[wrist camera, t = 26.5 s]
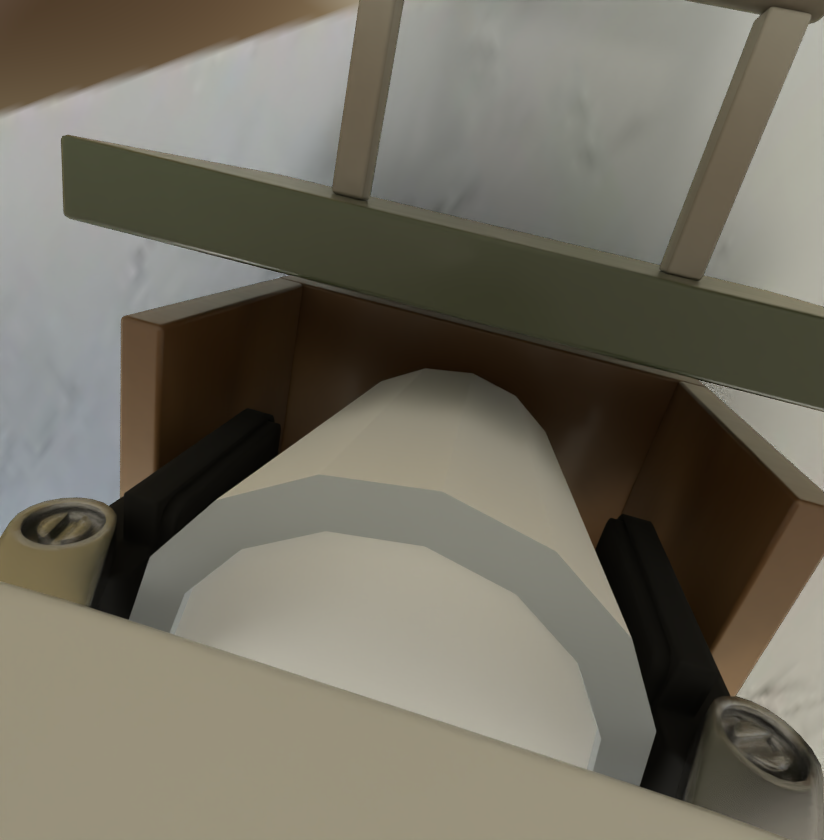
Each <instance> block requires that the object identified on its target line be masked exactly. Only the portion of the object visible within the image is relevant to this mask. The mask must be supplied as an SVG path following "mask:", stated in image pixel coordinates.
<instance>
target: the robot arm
mask: <svg viewBox="0 0 824 840" xmlns="http://www.w3.org/2000/svg"><path fill="white" fill-rule="evenodd" d="M280 434H281V425H280V424H278V423H275V420H274V417H273V415H271V414H267V413H263V412H260V411H256V410H253V409H249V408H247V409H245V410H243V411H242V412H240V413H239V414H237V415H236V416H235V417H233V418H232V419H230V420H229V421H227V422H226V423H224V424H223V425H222V426H220V427H219V428H217V429H216V430H214V431H213V432H212V433H210V434H209V435H207V436H206V437H204V438H203V439H201V440H200V441H199V442H197V443H196V444H194V445H193V446H191V447H190V448H189V449H187V450H186V451H184V452H183V453H181V454H180V455H178V456H177V457H176V458H174V459H173V460H171V461H170V462H168V463H167V464H165V465H164V466H163V467H161V468H160V469H158V470H157V471H155V472H154V473H153V474H151V475H150V476H148V477H147V478H145V479H144V480H142V481H141V482H140V483H138V484H137V485H135V486H134V487H132V488H131V489H130V490H128V491H127V492H125V493H124V496H123V497H121V498H120V499H118V500H117V501H115V502H114V503H113V504H111V505H110V506H108V505H106V504H105V503H103V502H100V501H96V500H93V499H87V498H77V497H76V498H60V499H54V500H49V501H44V502H42V503H39V504H36V505H33V506H30V507H29V508H27V509H25V510H23V511H22V512H20V513H18V514H17V515H16V516H15V517H14V518H13V519H12V521H11V522H10V523H9V525H8V526H7V528H6V529H5V531H4V532H3V534H2V536H1V537H0V840H824V777H823V773H822V769H821V765H820V763H819V761H818V759H817V758H816V756H815V754H814V752H813V750H812V749H811V748H810V747H809V745H808V744H807V743H806V742H805V741H804V739H803V738H802V737H801V736H800V735H799V734H798V733H797V732H796V731H795V730H794V729H793V728H792V727H791V726H789V725H788V724H787V723H786V722H785V721H784V720H782V719H781V718H779V717H778V716H777V715H775V714H774V713H772V712H771V711H769V710H768V709H766V708H764V707H762V706H760V705H758V704H756V703H754V702H752V701H749V700H746V699H743V698H740V697H736V696H730V694H729V691H728V689H727V687H726V685H725V683H724V680H723V678H722V676H721V674H720V671H719V669H718V667H717V665H716V663H715V660H714V658H713V656H712V654H711V652H710V649H709V647H708V645H707V643H706V640H705V638H704V636H703V634H702V632H701V629H700V627H699V625H698V623H697V620H696V618H695V616H694V614H693V612H692V609H691V607H690V605H689V603H688V601H687V599H686V597H685V595H684V592H683V590H682V588H681V586H680V584H679V581H678V579H677V577H676V575H675V572H674V570H673V568H672V566H671V564H670V561H669V559H668V557H667V555H666V552H665V550H664V548H663V546H662V544H661V541H660V539H659V537H658V535H657V532H656V530H655V528H654V526H653V524H652V522H650V521H647V520H643V519H640V518H636V517H633V516H629V515H626V514H621V515H620V516H619V517H618V518H617V519H614V518H610V519H609V520H608V521H607V523H606V525H605V527H604V529H603V532H602V534H601V537H600V539H599V541H598V544H597V546H596V548H595V552H596V554H597V556H598V559H599V561H600V564H601V566H602V568H603V571H604V573H605V575H606V578H607V580H608V583H609V585H610V587H611V590H612V592H613V595H614V597H615V599H616V602H617V604H618V607H619V609H620V611H621V614H622V616H623V619H624V621H625V623H626V626H627V628H628V630H629V633H630V635H631V638H632V641H633V645H634V648H635V652H636V656H637V660H638V664H639V667H640V671H641V675H642V679H643V683H644V686H645V690H646V694H647V698H648V702H649V706H650V709H651V713H652V717H653V721H654V725H655V728H656V734H655V738H654V741H653V744H652V747H651V751H650V754H649V757H648V760H647V764H646V767H645V770H644V773H643V777H642V780H641V783H640V786H636V785H633V784H630V783H627V782H624V781H621V780H618V779H615V778H612V777H609V776H606V775H603V774H600V773H597V772H594V771H591V770H588V769H585V768H582V767H579V766H576V765H573V764H570V763H567V762H564V761H561V760H558V759H555V758H552V757H549V756H546V755H543V754H540V753H537V752H534V751H531V750H528V749H525V748H522V747H519V746H516V745H512V744H509V743H506V742H503V741H500V740H497V739H494V738H491V737H488V736H485V735H482V734H479V733H476V732H473V731H470V730H466V729H463V728H460V727H457V726H454V725H451V724H448V723H445V722H442V721H439V720H436V719H433V718H430V717H427V716H424V715H421V714H417V713H414V712H411V711H408V710H405V709H402V708H399V707H396V706H393V705H390V704H387V703H384V702H381V701H378V700H375V699H372V698H368V697H365V696H362V695H359V694H356V693H353V692H350V691H347V690H344V689H341V688H338V687H335V686H332V685H328V684H325V683H322V682H319V681H316V680H313V679H310V678H307V677H304V676H301V675H298V674H295V673H292V672H289V671H285V670H282V669H279V668H276V667H273V666H270V665H267V664H264V663H261V662H258V661H255V660H252V659H249V658H245V657H242V656H239V655H236V654H233V653H230V652H227V651H224V650H221V649H218V648H215V647H212V646H208V645H205V644H202V643H199V642H196V641H193V640H190V639H187V638H183V637H180V636H177V635H174V634H171V633H168V632H165V631H162V630H158V629H155V628H152V627H149V626H146V625H143V624H140V623H137V622H133V621H130V620H129V618H130V615H131V612H132V609H133V606H134V603H135V600H136V597H137V594H138V591H139V588H140V585H141V582H142V579H143V576H144V573H145V570H146V567H147V564H148V561H149V558H150V556H152V555H153V554H154V553H155V552H156V551H157V550H158V549H160V548H161V547H162V546H163V545H164V544H165V543H167V542H168V541H169V540H170V539H171V538H172V537H174V536H175V535H176V534H177V533H178V532H179V531H181V530H182V529H183V528H184V527H185V526H186V525H187V524H189V523H190V522H191V521H192V520H193V519H194V518H196V517H197V516H198V515H199V514H200V513H201V512H203V511H204V510H205V509H206V508H207V507H208V506H209V505H211V504H212V503H213V502H214V501H215V500H217V499H218V498H219V497H221V496H222V495H224V494H225V493H226V492H228V491H229V490H231V489H232V488H233V487H235V486H236V485H237V484H239V483H240V482H242V481H243V480H244V479H246V478H247V477H249V476H250V475H251V474H253V473H254V472H256V471H257V470H258V469H260V468H261V467H263V466H264V465H265V464H267V463H268V462H269V461H271V460H272V459H274V458H275V457H276V456H278V449H279V442H280Z"/></svg>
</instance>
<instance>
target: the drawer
mask: <svg viewBox="0 0 824 840" xmlns="http://www.w3.org/2000/svg"><path fill="white" fill-rule="evenodd" d="M686 1H691V2H697V3H702V4H707V5H712V6H717V7H723V8H728V9H733V10H738V11H744V12H749V13H754V14H759V15H760V16H759V17H758V18H757V19H756V20H755V21H754V23H753V26H752V28H751V31H750V33H749V36H748V39H747V41H746V44H745V46H744V49H743V52H742V54H741V57H740V59H739V62H738V65H737V67H736V70H735V72H734V75H733V78H732V80H731V83H730V85H729V88H728V91H727V93H726V96H725V98H724V101H723V104H722V106H721V109H720V111H719V114H718V117H717V119H716V122H715V124H714V127H713V130H712V132H711V135H710V137H709V140H708V142H707V145H706V148H705V150H704V153H703V155H702V158H701V161H700V163H699V166H698V168H697V171H696V174H695V176H694V179H693V181H692V184H691V187H690V189H689V192H688V194H687V197H686V200H685V202H684V205H683V207H682V210H681V213H680V215H679V218H678V220H677V223H676V226H675V228H674V231H673V233H672V236H671V239H670V241H669V244H668V246H667V249H666V252H665V254H664V257H663V259H662V262H661V265H658V264H654V263H649V262H645V261H641V260H637V259H633V258H628V257H624V256H620V255H616V254H612V253H607V252H603V251H599V250H595V249H591V248H586V247H582V246H578V245H574V244H570V243H565V242H561V241H557V240H553V239H549V238H544V237H540V236H536V235H532V234H528V233H523V232H519V231H515V230H511V229H507V228H502V227H498V226H494V225H490V224H486V223H481V222H477V221H473V220H469V219H465V218H460V217H456V216H452V215H448V214H444V213H439V212H435V211H431V210H427V209H423V208H418V207H414V206H410V205H406V204H402V203H397V202H393V201H389V200H385V199H381V198H376V197H372V196H370V195H371V189H372V184H373V178H374V172H375V166H376V160H377V155H378V149H379V143H380V137H381V131H382V126H383V120H384V114H385V108H386V102H387V97H388V91H389V85H390V79H391V73H392V68H393V62H394V56H395V50H396V44H397V39H398V33H399V27H400V21H401V15H402V10H403V4H404V0H359V7H358V14H357V21H356V28H355V34H354V41H353V48H352V55H351V62H350V69H349V75H348V82H347V89H346V96H345V103H344V110H343V117H342V123H341V130H340V137H339V144H338V151H337V158H336V165H335V171H334V178H333V185H332V187H330V186H326V185H322V184H318V183H313V182H309V181H305V180H301V179H297V178H292V177H288V176H284V175H280V174H274V173H269V172H264V171H258V170H253V169H248V168H242V167H237V166H232V165H226V164H221V163H215V162H210V161H205V160H199V159H194V158H189V157H183V156H178V155H173V154H167V153H162V152H157V151H151V150H146V149H141V148H135V147H130V146H125V145H119V144H114V143H109V142H103V141H98V140H93V139H87V138H82V137H77V136H71V135H65V136H62V138H61V152H62V181H63V211H64V215H65V216H66V217H68V218H70V219H73V220H77V221H81V222H85V223H89V224H92V225H96V226H100V227H104V228H108V229H112V230H116V231H120V232H124V233H128V234H131V235H135V236H139V237H143V238H147V239H151V240H155V241H159V242H163V243H167V244H171V245H174V246H178V247H182V248H186V249H190V250H194V251H198V252H202V253H206V254H210V255H213V256H217V257H221V258H225V259H229V260H233V261H237V262H241V263H245V264H249V265H252V266H256V267H260V268H264V269H268V270H272V271H276V272H280V273H284V274H288V275H289V276H285V277H280V278H277V279H273V280H269V281H265V282H261V283H257V284H252V285H248V286H244V287H240V288H236V289H232V290H228V291H224V292H220V293H216V294H212V295H208V296H203V297H199V298H195V299H191V300H187V301H183V302H179V303H175V304H171V305H167V306H163V307H158V308H154V309H150V310H146V311H142V312H138V313H134V314H130V315H126V316H123V317H122V319H121V405H120V498H121V497H123V496H124V493H125V492H127V491H128V490H130V489H131V488H132V487H134V486H135V485H137V484H138V483H140V482H141V481H142V480H144V479H145V478H147V477H148V476H150V475H151V474H153V473H154V472H155V471H157V470H158V469H160V468H161V467H163V466H164V465H165V464H167V463H168V462H170V461H171V460H173V459H174V458H176V457H177V456H178V455H180V454H181V453H183V452H184V451H186V450H187V449H189V448H190V447H191V446H193V445H194V444H196V443H197V442H199V441H200V440H201V439H203V438H204V437H206V436H207V435H209V434H210V433H212V432H213V431H214V430H216V429H217V428H219V427H220V426H222V425H223V424H224V423H226V422H227V421H229V420H230V419H232V418H233V417H235V416H236V415H237V414H239V413H240V412H242V411H243V410H245V409H247V408H249V409H253V410H256V411H260V412H263V413H267V414H271V415H273V417H274V420H275V423H278V424H280V425H281V434H280V442H279V449H278V455H279V454H281V453H282V452H283V451H285V450H286V449H288V448H289V447H290V446H292V445H293V444H295V443H296V442H297V441H299V440H300V439H302V438H303V437H304V436H306V435H307V434H308V433H310V432H311V431H313V430H314V429H315V428H317V427H318V426H320V425H321V424H322V423H324V422H325V421H327V420H328V419H329V418H331V417H332V416H334V415H335V414H336V413H338V412H339V411H340V410H342V409H343V408H345V407H346V406H347V405H349V404H350V403H352V402H353V401H354V400H356V399H357V398H359V397H360V396H361V395H363V394H364V393H366V392H367V391H368V390H370V389H371V388H372V387H374V386H375V385H377V384H378V383H379V382H381V381H383V380H387V379H390V378H394V377H397V376H401V375H404V374H407V373H411V372H414V371H418V370H421V369H425V368H427V369H436V370H446V371H455V372H465V373H473V374H475V375H477V376H479V377H481V378H483V379H484V380H486V381H488V382H490V383H492V384H494V385H496V386H498V387H500V388H502V389H503V390H505V391H507V392H509V393H511V394H513V395H515V396H516V397H517V398H518V399H519V401H520V402H521V403H522V404H523V405H524V407H525V408H526V409H527V410H528V411H529V413H530V414H531V415H532V416H533V417H534V419H535V420H536V421H537V422H538V423H539V425H540V426H541V427H542V428H543V429H544V431H545V432H546V434H547V437H548V439H549V442H550V444H551V446H552V449H553V451H554V454H555V456H556V458H557V461H558V463H559V465H560V468H561V470H562V473H563V475H564V477H565V480H566V482H567V485H568V487H569V489H570V492H571V494H572V497H573V499H574V501H575V504H576V506H577V509H578V511H579V513H580V516H581V518H582V520H583V523H584V525H585V528H586V530H587V532H588V535H589V537H590V540H591V542H592V544H593V547H594V549H595V548H596V546H597V544H598V541H599V539H600V537H601V534H602V532H603V529H604V527H605V525H606V523H607V521H608V520H609V519H610V518H614V519H617V518H618V517H619V516H620V515H621V514H626V515H629V516H633V517H636V518H640V519H643V520H647V521H650V522H652V524H653V526H654V528H655V530H656V532H657V535H658V537H659V539H660V541H661V544H662V546H663V548H664V550H665V552H666V555H667V557H668V559H669V561H670V564H671V566H672V568H673V570H674V572H675V575H676V577H677V579H678V581H679V584H680V586H681V588H682V590H683V592H684V595H685V597H686V599H687V601H688V603H689V605H690V607H691V609H692V612H693V614H694V616H695V618H696V620H697V623H698V625H699V627H700V629H701V632H702V634H703V636H704V638H705V640H706V643H707V645H708V647H709V649H710V652H711V654H712V656H713V658H714V660H715V663H716V665H717V667H718V669H719V671H720V674H721V676H722V678H723V680H724V683H725V685H726V687H727V689H728V691H729V694H730V696H736V695H737V693H738V692H739V690H740V688H741V687H742V685H743V684H744V682H745V680H746V679H747V677H748V676H749V674H750V672H751V671H752V669H753V668H754V666H755V664H756V663H757V661H758V660H759V658H760V657H761V655H762V653H763V652H764V650H765V649H766V647H767V645H768V644H769V642H770V641H771V639H772V637H773V636H774V634H775V633H776V631H777V630H778V628H779V626H780V625H781V623H782V622H783V620H784V618H785V617H786V615H787V614H788V612H789V610H790V609H791V607H792V606H793V604H794V603H795V601H796V599H797V598H798V596H799V595H800V593H801V591H802V590H803V588H804V587H805V585H806V583H807V582H808V580H809V579H810V577H811V575H812V574H813V572H814V571H815V569H816V568H817V566H818V564H819V563H820V561H821V560H822V558H823V556H824V492H823V491H822V490H821V489H820V488H819V487H818V486H817V485H816V484H814V483H813V482H812V481H811V480H810V479H809V478H808V477H807V476H806V475H804V474H803V473H802V472H801V471H800V470H799V469H798V468H797V467H795V466H794V465H793V464H792V463H791V462H790V461H789V460H788V459H787V458H785V457H784V456H783V455H782V454H781V453H780V452H779V451H778V450H776V449H775V448H774V447H773V446H772V445H771V444H770V443H769V442H768V441H766V440H765V439H764V438H763V437H762V436H761V435H760V434H759V433H757V432H756V431H755V430H754V429H753V428H752V427H751V426H750V425H748V424H747V423H746V422H745V421H744V420H743V419H742V418H741V417H740V416H738V415H737V414H736V413H735V412H734V411H733V410H732V409H731V408H729V407H728V406H727V405H726V404H725V403H724V402H723V401H722V400H721V399H719V398H718V397H717V396H716V395H715V394H714V393H713V392H712V391H710V390H709V389H708V388H707V387H706V386H705V385H704V384H702V383H701V382H700V381H699V380H701V381H705V382H709V383H713V384H717V385H721V386H725V387H729V388H733V389H736V390H740V391H744V392H748V393H752V394H756V395H760V396H764V397H768V398H772V399H775V400H779V401H783V402H787V403H791V404H795V405H799V406H803V407H807V408H811V409H814V410H818V411H822V412H824V307H823V306H819V305H816V304H812V303H809V302H805V301H802V300H798V299H795V298H791V297H788V296H784V295H781V294H777V293H774V292H770V291H767V290H763V289H758V288H754V287H750V286H746V285H742V284H737V283H733V282H729V281H725V280H721V279H716V278H712V277H708V276H704V273H705V270H706V268H707V265H708V263H709V261H710V258H711V256H712V254H713V251H714V249H715V246H716V244H717V242H718V239H719V237H720V234H721V232H722V230H723V227H724V225H725V222H726V220H727V218H728V215H729V213H730V211H731V208H732V206H733V203H734V201H735V199H736V196H737V194H738V191H739V189H740V187H741V184H742V182H743V179H744V177H745V175H746V172H747V170H748V167H749V165H750V163H751V160H752V158H753V156H754V153H755V151H756V148H757V146H758V144H759V141H760V139H761V136H762V134H763V132H764V129H765V127H766V124H767V122H768V120H769V117H770V115H771V113H772V110H773V108H774V105H775V103H776V101H777V98H778V96H779V93H780V91H781V89H782V86H783V84H784V81H785V79H786V77H787V74H788V72H789V70H790V67H791V65H792V62H793V60H794V58H795V55H796V53H797V50H798V48H799V46H800V43H801V41H802V38H803V36H804V34H805V31H806V29H807V27H808V24H811V23H815V22H817V21H818V20H820V19H821V18H822V17H823V16H824V0H686Z"/></svg>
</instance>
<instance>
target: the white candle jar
mask: <svg viewBox="0 0 824 840" xmlns="http://www.w3.org/2000/svg"><path fill="white" fill-rule="evenodd" d="M129 620H130V621H133V622H137V623H140V624H143V625H146V626H149V627H152V628H155V629H158V630H162V631H165V632H168V633H171V634H174V635H177V636H180V637H183V638H187V639H190V640H193V641H196V642H199V643H202V644H205V645H208V646H212V647H215V648H218V649H221V650H224V651H227V652H230V653H233V654H236V655H239V656H242V657H245V658H249V659H252V660H255V661H258V662H261V663H264V664H267V665H270V666H273V667H276V668H279V669H282V670H285V671H289V672H292V673H295V674H298V675H301V676H304V677H307V678H310V679H313V680H316V681H319V682H322V683H325V684H328V685H332V686H335V687H338V688H341V689H344V690H347V691H350V692H353V693H356V694H359V695H362V696H365V697H368V698H372V699H375V700H378V701H381V702H384V703H387V704H390V705H393V706H396V707H399V708H402V709H405V710H408V711H411V712H414V713H417V714H421V715H424V716H427V717H430V718H433V719H436V720H439V721H442V722H445V723H448V724H451V725H454V726H457V727H460V728H463V729H466V730H470V731H473V732H476V733H479V734H482V735H485V736H488V737H491V738H494V739H497V740H500V741H503V742H506V743H509V744H512V745H516V746H519V747H522V748H525V749H528V750H531V751H534V752H537V753H540V754H543V755H546V756H549V757H552V758H555V759H558V760H561V761H564V762H567V763H570V764H573V765H576V766H579V767H582V768H585V769H588V770H591V771H594V772H597V773H600V774H603V775H606V776H609V777H612V778H615V779H618V780H621V781H624V782H627V783H630V784H633V785H636V786H640V783H641V780H642V777H643V773H644V770H645V767H646V764H647V760H648V757H649V754H650V751H651V747H652V744H653V741H654V738H655V734H656V728H655V725H654V721H653V717H652V713H651V709H650V706H649V702H648V698H647V694H646V690H645V686H644V683H643V679H642V675H641V671H640V667H639V664H638V660H637V656H636V652H635V648H634V645H633V641H632V638H631V635H630V633H629V630H628V628H627V626H626V623H625V621H624V619H623V616H622V614H621V611H620V609H619V607H618V604H617V602H616V599H615V597H614V595H613V592H612V590H611V587H610V585H609V583H608V580H607V578H606V575H605V573H604V571H603V568H602V566H601V564H600V561H599V559H598V556H597V554H596V552H595V549H594V547H593V544H592V542H591V540H590V537H589V535H588V532H587V530H586V528H585V525H584V523H583V520H582V518H581V516H580V513H579V511H578V509H577V506H576V504H575V501H574V499H573V497H572V494H571V492H570V489H569V487H568V485H567V482H566V480H565V477H564V475H563V473H562V470H561V468H560V465H559V463H558V461H557V458H556V456H555V454H554V451H553V449H552V446H551V444H550V442H549V439H548V437H547V434H546V432H545V431H544V429H543V428H542V427H541V426H540V425H539V423H538V422H537V421H536V420H535V419H534V417H533V416H532V415H531V414H530V413H529V411H528V410H527V409H526V408H525V407H524V405H523V404H522V403H521V402H520V401H519V399H518V398H517V397H516V396H515V395H513V394H511V393H509V392H507V391H505V390H503V389H502V388H500V387H498V386H496V385H494V384H492V383H490V382H488V381H486V380H484V379H483V378H481V377H479V376H477V375H475V374H473V373H465V372H455V371H446V370H436V369H427V368H425V369H421V370H418V371H414V372H411V373H407V374H404V375H401V376H397V377H394V378H390V379H387V380H383V381H381V382H379V383H378V384H377V385H375V386H374V387H372V388H371V389H370V390H368V391H367V392H366V393H364V394H363V395H361V396H360V397H359V398H357V399H356V400H354V401H353V402H352V403H350V404H349V405H347V406H346V407H345V408H343V409H342V410H340V411H339V412H338V413H336V414H335V415H334V416H332V417H331V418H329V419H328V420H327V421H325V422H324V423H322V424H321V425H320V426H318V427H317V428H315V429H314V430H313V431H311V432H310V433H308V434H307V435H306V436H304V437H303V438H302V439H300V440H299V441H297V442H296V443H295V444H293V445H292V446H290V447H289V448H288V449H286V450H285V451H283V452H282V453H281V454H279V455H278V456H276V457H275V458H274V459H272V460H271V461H269V462H268V463H267V464H265V465H264V466H263V467H261V468H260V469H258V470H257V471H256V472H254V473H253V474H251V475H250V476H249V477H247V478H246V479H244V480H243V481H242V482H240V483H239V484H237V485H236V486H235V487H233V488H232V489H231V490H229V491H228V492H226V493H225V494H224V495H222V496H221V497H219V498H218V499H217V500H215V501H214V502H213V503H212V504H211V505H209V506H208V507H207V508H206V509H205V510H204V511H203V512H201V513H200V514H199V515H198V516H197V517H196V518H194V519H193V520H192V521H191V522H190V523H189V524H187V525H186V526H185V527H184V528H183V529H182V530H181V531H179V532H178V533H177V534H176V535H175V536H174V537H172V538H171V539H170V540H169V541H168V542H167V543H165V544H164V545H163V546H162V547H161V548H160V549H158V550H157V551H156V552H155V553H154V554H153V555H152V556H150V558H149V561H148V564H147V567H146V570H145V573H144V576H143V579H142V582H141V585H140V588H139V591H138V594H137V597H136V600H135V603H134V606H133V609H132V612H131V615H130V618H129Z"/></svg>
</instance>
